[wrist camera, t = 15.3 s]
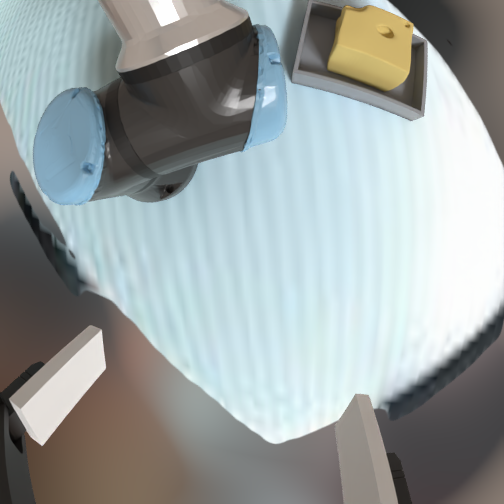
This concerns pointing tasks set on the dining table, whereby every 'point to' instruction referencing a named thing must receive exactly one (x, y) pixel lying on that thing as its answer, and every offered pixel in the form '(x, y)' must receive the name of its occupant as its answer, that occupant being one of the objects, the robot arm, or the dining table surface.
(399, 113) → the bin
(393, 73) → the cheese
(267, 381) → the dining table surface
